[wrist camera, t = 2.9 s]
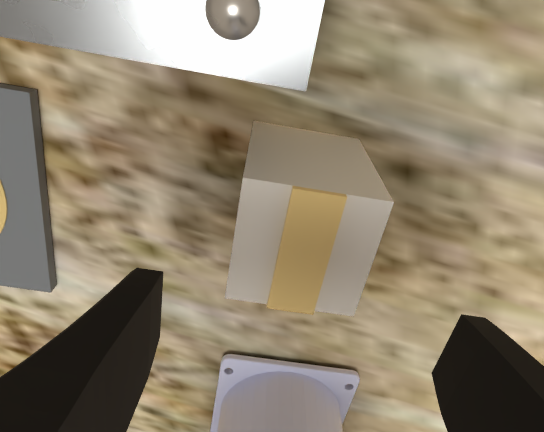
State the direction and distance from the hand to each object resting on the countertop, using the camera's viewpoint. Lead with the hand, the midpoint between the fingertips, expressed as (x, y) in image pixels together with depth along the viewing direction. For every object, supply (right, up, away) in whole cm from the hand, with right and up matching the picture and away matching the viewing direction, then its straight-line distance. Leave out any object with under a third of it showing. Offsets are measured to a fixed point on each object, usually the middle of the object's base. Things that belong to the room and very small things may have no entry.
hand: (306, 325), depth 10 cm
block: (0, +4, +8) cm, 9 cm away
